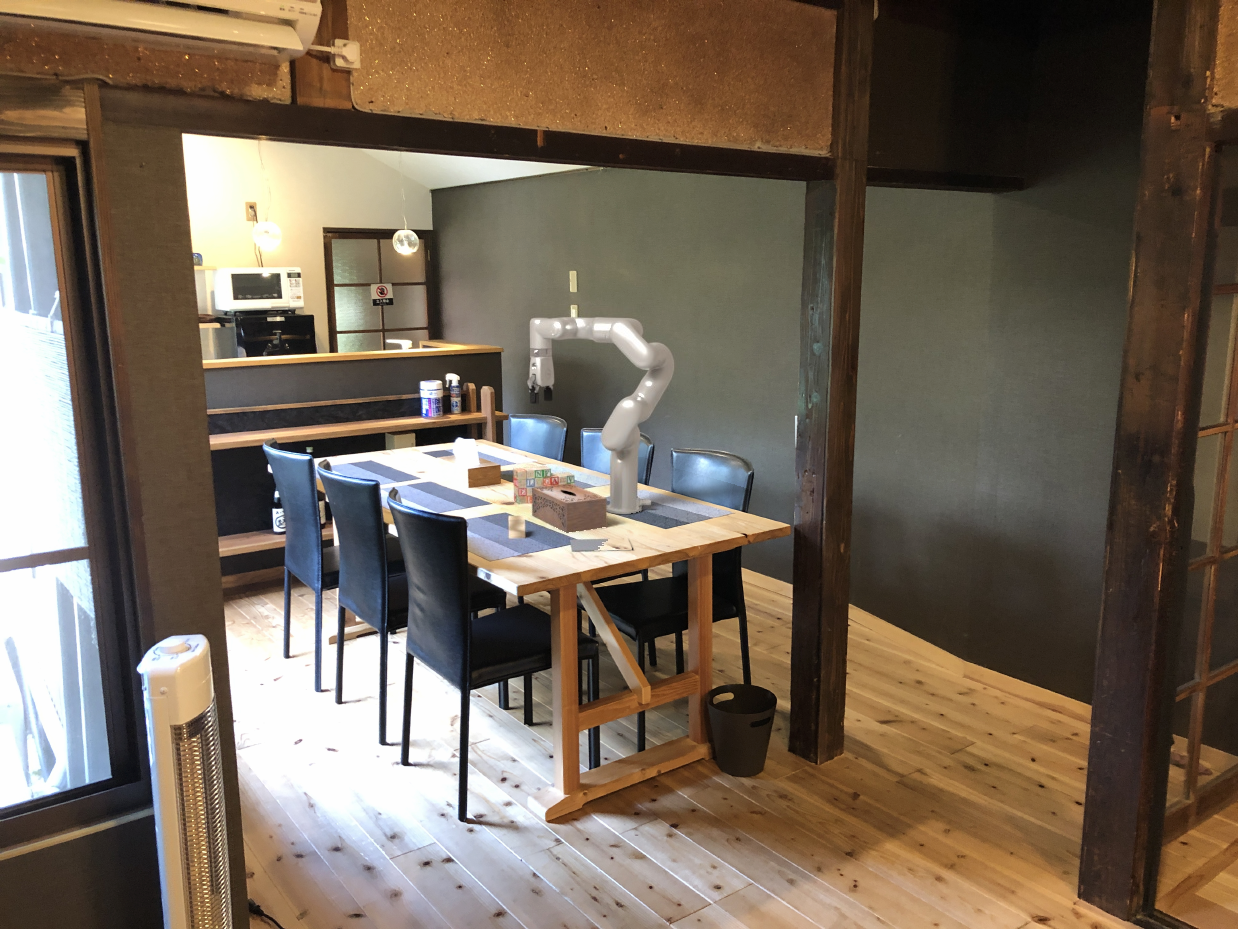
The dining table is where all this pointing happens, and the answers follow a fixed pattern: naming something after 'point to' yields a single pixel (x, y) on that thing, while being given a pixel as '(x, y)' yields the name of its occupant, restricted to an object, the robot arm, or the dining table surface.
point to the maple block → (516, 527)
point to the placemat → (586, 544)
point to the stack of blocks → (536, 481)
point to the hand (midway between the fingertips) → (541, 402)
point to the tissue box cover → (569, 507)
